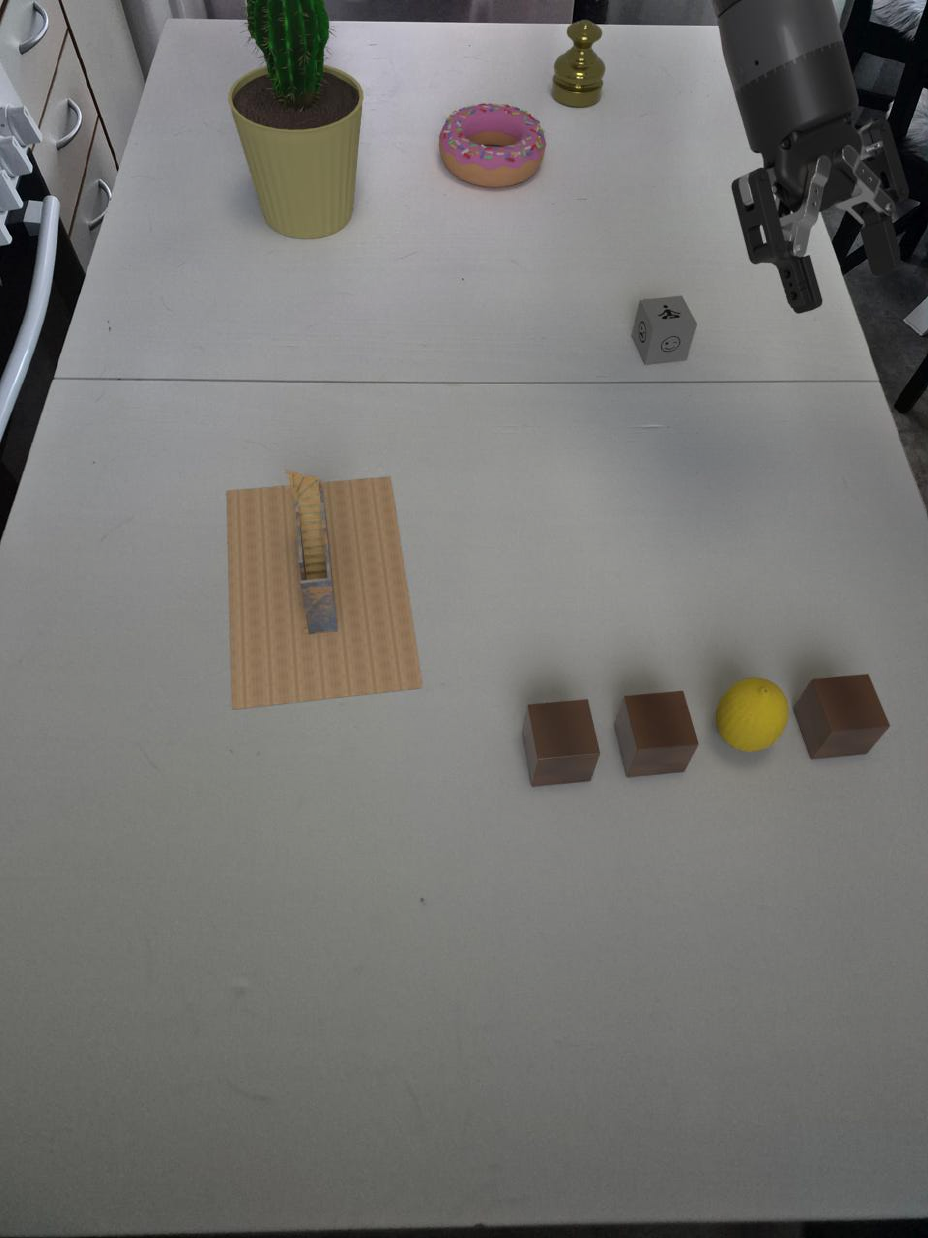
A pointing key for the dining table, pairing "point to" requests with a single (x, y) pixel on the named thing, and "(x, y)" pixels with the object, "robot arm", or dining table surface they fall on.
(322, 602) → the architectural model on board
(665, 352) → the dice cube
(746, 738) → the lemon
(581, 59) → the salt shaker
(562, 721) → the walnut block
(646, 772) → the walnut block
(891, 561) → the dining table surface
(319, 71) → the potted cactus
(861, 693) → the walnut block
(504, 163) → the donut
